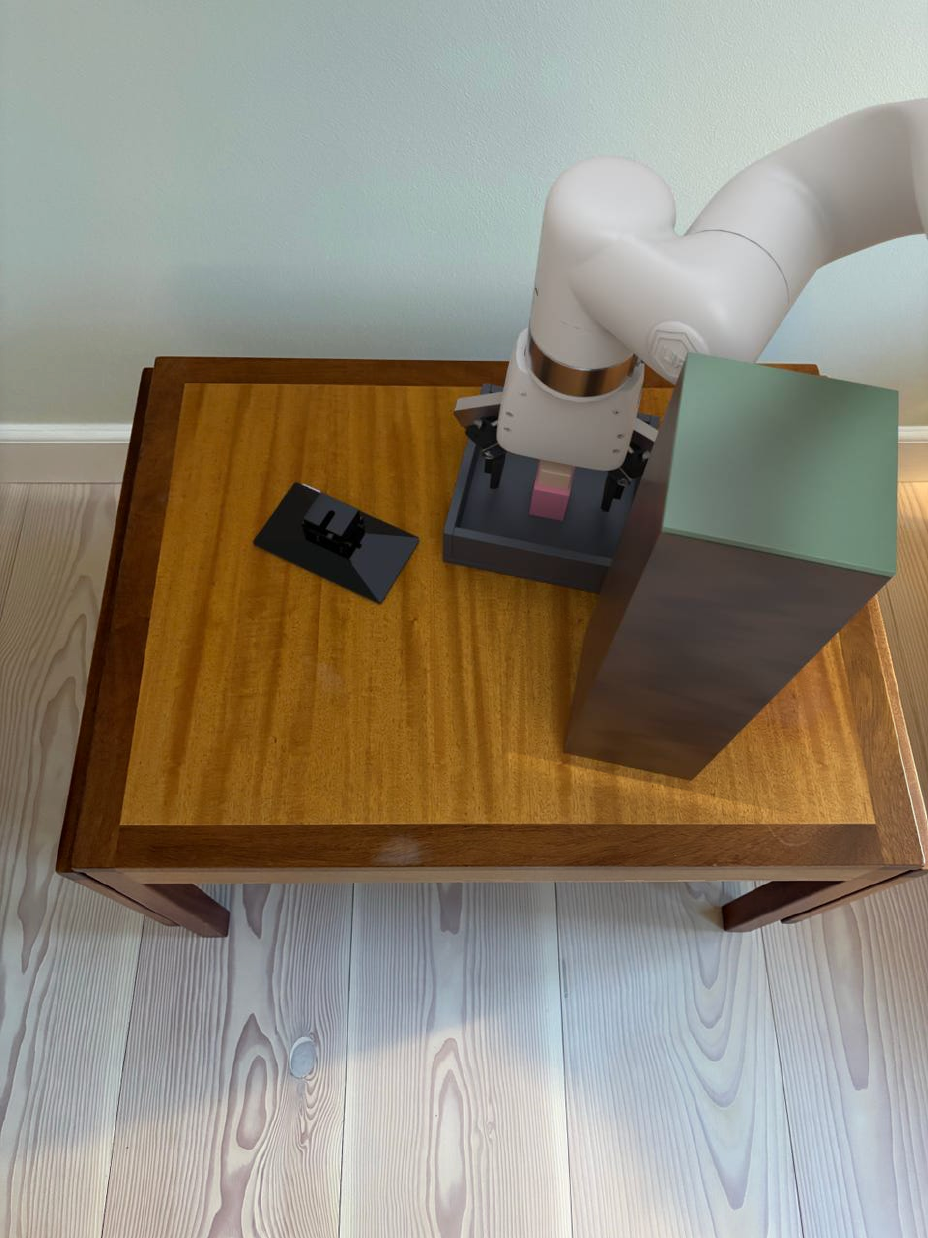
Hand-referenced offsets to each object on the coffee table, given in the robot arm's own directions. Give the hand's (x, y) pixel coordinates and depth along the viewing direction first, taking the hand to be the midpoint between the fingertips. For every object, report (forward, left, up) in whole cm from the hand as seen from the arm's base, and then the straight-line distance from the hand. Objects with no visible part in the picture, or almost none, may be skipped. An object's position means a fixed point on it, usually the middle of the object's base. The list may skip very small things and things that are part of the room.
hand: (551, 486), depth 76 cm
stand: (-10, +17, -3) cm, 20 cm away
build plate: (+17, +8, -3) cm, 19 cm away
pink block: (0, 0, -2) cm, 2 cm away
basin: (0, 0, -3) cm, 3 cm away
